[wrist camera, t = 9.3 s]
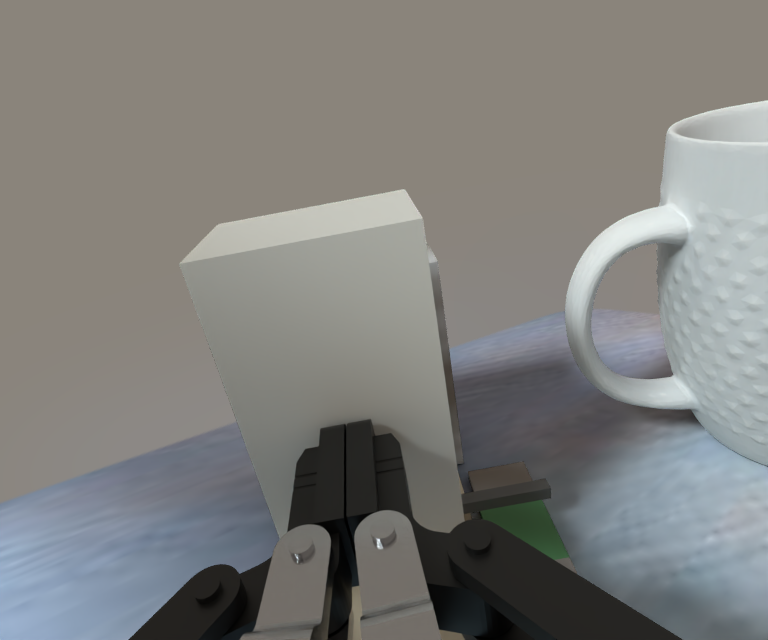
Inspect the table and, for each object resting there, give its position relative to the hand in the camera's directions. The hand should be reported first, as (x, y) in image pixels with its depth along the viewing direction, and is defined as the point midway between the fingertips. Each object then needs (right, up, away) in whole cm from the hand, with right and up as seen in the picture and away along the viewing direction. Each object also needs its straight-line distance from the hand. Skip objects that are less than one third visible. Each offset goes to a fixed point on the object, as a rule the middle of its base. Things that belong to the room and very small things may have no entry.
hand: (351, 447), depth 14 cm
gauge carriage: (+3, -4, +4) cm, 6 cm away
